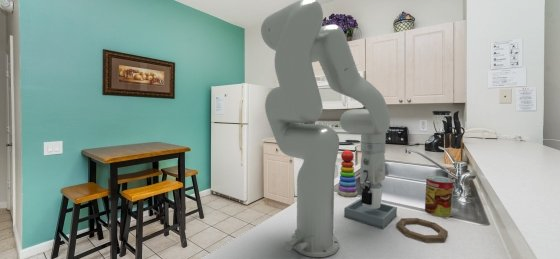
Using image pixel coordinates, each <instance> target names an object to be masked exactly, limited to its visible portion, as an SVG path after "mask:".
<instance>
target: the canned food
mask: <svg viewBox="0 0 560 259" xmlns="http://www.w3.org/2000/svg"><path fill="white" fill-rule="evenodd" d="M425 178H426V180H425V203H424V211H425V213H426V214H428V215H431V216H434V217H438V218H451V217H452V216H453V198H454V182H455V181H454V179H452V178H450V177H446V176H441V175H440V176H439V175H428V176H426V177H425ZM450 216H451V217H450Z"/></svg>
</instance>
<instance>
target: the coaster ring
mask: <svg viewBox="0 0 560 259" xmlns="http://www.w3.org/2000/svg"><path fill="white" fill-rule="evenodd" d="M406 225H420V226H424V227H427V228H431V229H432V230H434V231H435V232H437V233H438V234H423V233H422V234H421V233H419V232H415V231H412V230H410V229H408V228H407V226H406ZM395 228H396V229H397V230H398V231H399V232H400V233H401V234H403V235H404V236H405V237H408V238H411V239H413V240H416V241H420V242H424V243H426V244H428V243H430V244H431V243H445V241H446V239H447V237H448V234H449V233H448V232H449V231H448V230H447V229H445V228H444V227H442V226H441V225H439V224H438V223H436V222H432V221H429V220H426V219H421V218H418V217H410V218H409V217H406V218H404V217H401V218H400V219H399V220H398V222H396V224H395Z"/></svg>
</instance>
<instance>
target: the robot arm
mask: <svg viewBox="0 0 560 259" xmlns="http://www.w3.org/2000/svg"><path fill="white" fill-rule="evenodd" d="M323 22H324V12H323V8H322V6H321V4H320V2H319V1H318V0H298V1H295V2H293V3H291V4H289V5H287V6H285V7H283V8H281V9H279V10H278V11H275V12H273V13H271V14H270V15H268V16H267V17H265V18H264V20H263V21H262V24H261V27H260V35H261V38H262V40H263V42H264V43H265V45H267V46H268V47H269V48H270V49H271V50H273V51H275V53H274V71H275V74H276V78H277V81H278V85H279V86H277V87H274V88H272V89H271V90H270V91H269V92H268V93H267V95H266V98H265V103H264V109H265V114H266V118H267V121H268V123H269V126H270V128H271V131H272V134H273V137H274V140H275V142H276V144H277V147H278V149H279V150H280V152H281V153H283V154H284V155H286V156H288V157H293V158H296V159H301V160H303V163H302V165H301V166H300V169H299V170H298V173H297V177H296V229H295V230H294V232H293V234H292V235H291V236H290V239H289V240H287V241H286V242H285V248H286V249H287V250H288V251H291V250H292V249H293V250H295V251H296V252H297V253H298V254H301V255H303V256H307V257H312V258H325V257H329V256H332V255H334V254H335V253H336V252H338V250H339V248H340V241H339V239H338V237H337V236H336V235H335V234H334V209H335V208H334V207H335V204H334V203H335V172H336V164H337V159H338V154H339V149H340V138H339V135H338V133H337V132H336V130H335V129H333V128H332V127H330V126H327V125H324V124H318V123H315V122H316V121H317V120H319V119H320V118H321V116H322V115H323V111H324V110H323V109H324V108H323V106H324V105H323V100H322V96H321V94H320V89H319V86H318V83H317V79H316V76H315V71H314V68H313V63H316V62H318V63H319V65H320V67H321V69H322V71H323V74H324V76H325V80H326V81H327V83H328V86H329V87H330V89H331V90H333V91H334V92H336V93H339V94H341V95H343V96H346V97H348V98H351V99H353V100H355V101H357V102H359V103H360V104H361V105H362V106H364V108H356V109H355V108H354V109H353V108H352V109H348V110H345V111H344V112H343V113H342V114H341V116H340V119H339V125H340V127H341V128H342V130H343V131H345V132H346V133H349V134H356V135H360V153H361V157H360V171H359V185H360V188H361V189H360V190H361V198H362V203H364V204H367V205H372V193H371V189H372V185H376V184H381V185H382V182H383V181H384V180H386V179H385V178H386V158H385V156H386V155H385V153H386V138H387V132H388V131H389V129H390V126H391V117H390V112H389V109H388V106H387V102H386V100H385V98H384V95H383V94H382V93H381V92H380V91H379V90H378V89H377V88H376V86H374V84H372V83H371V82H369V81H368V80H367V79H365V78H364V77H362V76H361V75H360V73H359V70H358V67H357V65H356V63H355V59H354V57H353V54H352V50H351V48H350V45H349V42H348V40H347V37H346V34H345V31H344V30H343V28H342V27H341V26H340V25H337V24H326V25H323ZM313 122H314V123H313ZM369 182H370V183H369ZM366 184H367V185H369V188H368V186H366Z"/></svg>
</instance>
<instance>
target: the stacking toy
mask: <svg viewBox="0 0 560 259" xmlns="http://www.w3.org/2000/svg"><path fill="white" fill-rule="evenodd" d="M340 158H341V160H342V161H341V164H340V165H341V167H340V171H339V174H340V175H339V181H338V190H337V193H338V194H339V195H340V196H343V197H347V198H349V197H350V198H351V197H352V198H353V197H356V196H357V195H358V191H357V189H358V187H357V180H356V179H357V178H356V176H355V174H356V173H355V167H354V164H355V163H354V162H353V160H354V158H355V156H354V153H353V151H351V150H349V149H345V150H343V151H342V152H341V154H340Z"/></svg>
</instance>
